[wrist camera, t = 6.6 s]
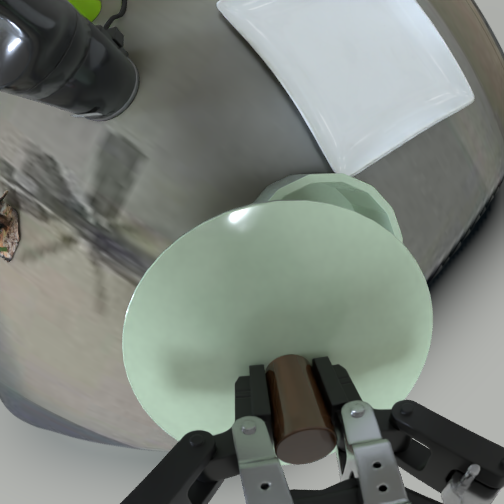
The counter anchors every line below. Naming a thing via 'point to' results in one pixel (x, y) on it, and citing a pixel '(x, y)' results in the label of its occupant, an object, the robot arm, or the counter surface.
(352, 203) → the bin
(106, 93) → the robot arm
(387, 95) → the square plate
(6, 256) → the plant with pod
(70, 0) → the soap dispenser
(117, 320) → the counter surface
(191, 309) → the bin lid
